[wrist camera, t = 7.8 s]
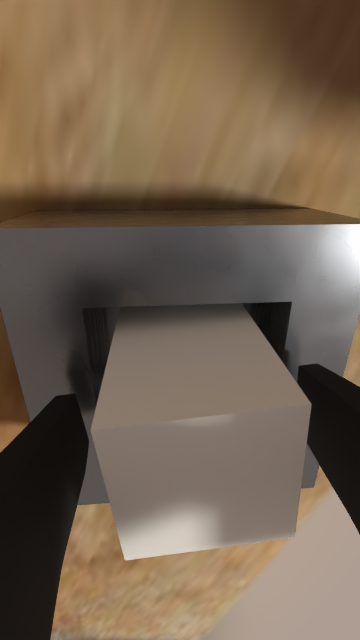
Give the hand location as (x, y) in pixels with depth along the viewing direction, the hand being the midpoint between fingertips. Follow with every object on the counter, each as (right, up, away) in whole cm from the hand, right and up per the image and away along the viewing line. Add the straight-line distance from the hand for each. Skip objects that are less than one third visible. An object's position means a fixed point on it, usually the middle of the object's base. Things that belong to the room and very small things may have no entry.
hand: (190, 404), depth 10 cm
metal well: (0, +2, +5) cm, 5 cm away
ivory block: (0, +2, +4) cm, 5 cm away
